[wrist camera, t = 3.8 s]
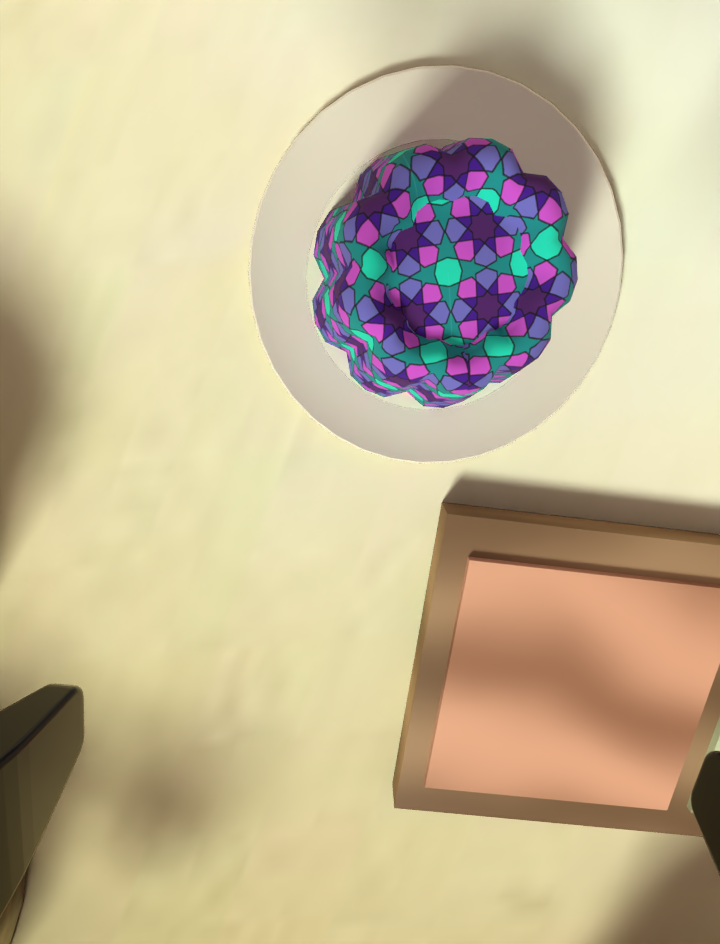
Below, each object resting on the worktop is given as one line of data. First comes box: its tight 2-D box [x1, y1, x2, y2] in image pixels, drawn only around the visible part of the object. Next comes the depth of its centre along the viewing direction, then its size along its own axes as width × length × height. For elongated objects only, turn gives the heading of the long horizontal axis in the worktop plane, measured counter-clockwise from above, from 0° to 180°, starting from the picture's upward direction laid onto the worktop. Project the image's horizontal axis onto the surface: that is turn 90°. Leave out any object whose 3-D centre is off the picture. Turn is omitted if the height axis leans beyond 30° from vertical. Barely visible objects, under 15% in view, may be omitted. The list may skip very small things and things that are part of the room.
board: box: [393, 503, 720, 837], centre depth 21 cm, size 13×23×2 cm, turn 83°
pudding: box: [248, 65, 623, 464], centre depth 15 cm, size 12×12×5 cm
